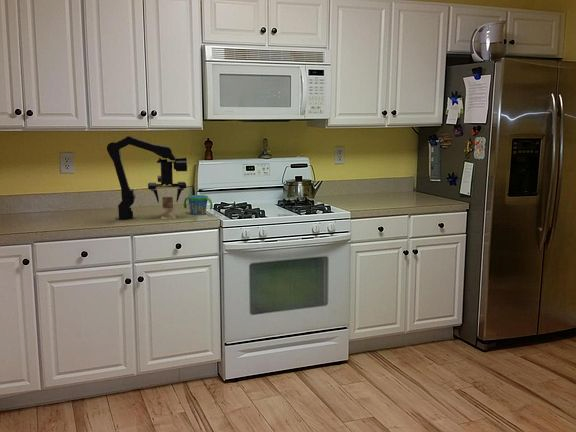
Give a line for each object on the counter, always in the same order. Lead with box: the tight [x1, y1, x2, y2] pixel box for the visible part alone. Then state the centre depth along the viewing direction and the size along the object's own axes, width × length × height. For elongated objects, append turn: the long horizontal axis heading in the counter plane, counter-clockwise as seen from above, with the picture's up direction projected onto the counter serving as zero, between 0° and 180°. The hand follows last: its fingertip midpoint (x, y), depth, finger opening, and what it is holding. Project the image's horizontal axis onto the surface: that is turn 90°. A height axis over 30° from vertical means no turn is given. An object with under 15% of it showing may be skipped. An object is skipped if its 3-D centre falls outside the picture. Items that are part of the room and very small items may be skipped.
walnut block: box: [161, 196, 174, 209], centre depth 307 cm, size 5×5×5 cm
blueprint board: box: [160, 215, 177, 220], centre depth 313 cm, size 16×20×1 cm
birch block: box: [162, 207, 175, 219], centre depth 308 cm, size 5×5×5 cm
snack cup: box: [183, 194, 213, 216], centre depth 320 cm, size 16×10×10 cm
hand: (167, 202), depth 307 cm, fingers open, 9 cm apart
